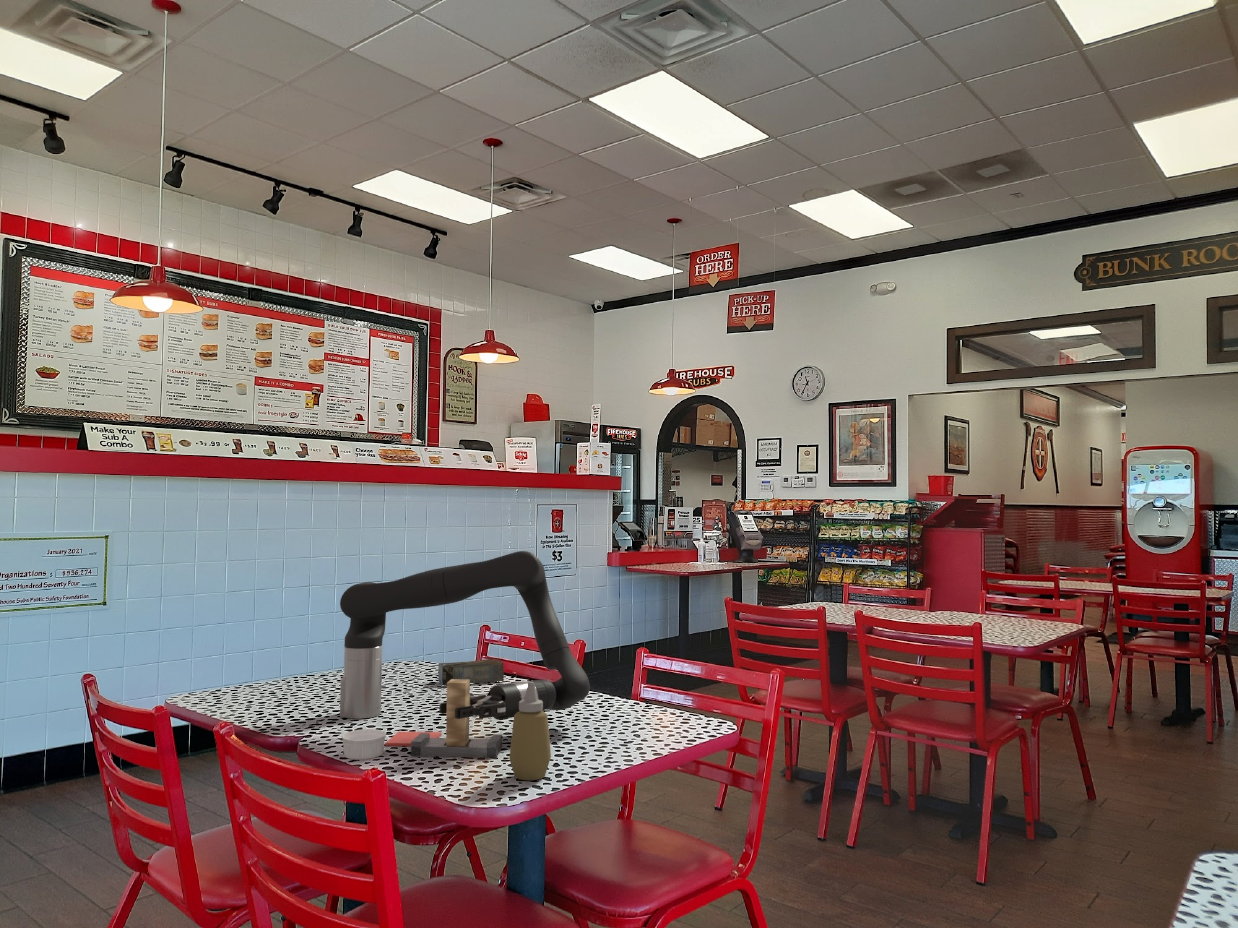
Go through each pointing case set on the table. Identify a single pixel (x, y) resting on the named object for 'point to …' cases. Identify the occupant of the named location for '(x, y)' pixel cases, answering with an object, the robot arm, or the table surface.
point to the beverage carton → (472, 671)
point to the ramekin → (363, 744)
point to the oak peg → (455, 698)
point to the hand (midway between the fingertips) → (448, 711)
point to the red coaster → (408, 738)
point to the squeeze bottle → (530, 738)
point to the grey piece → (456, 747)
